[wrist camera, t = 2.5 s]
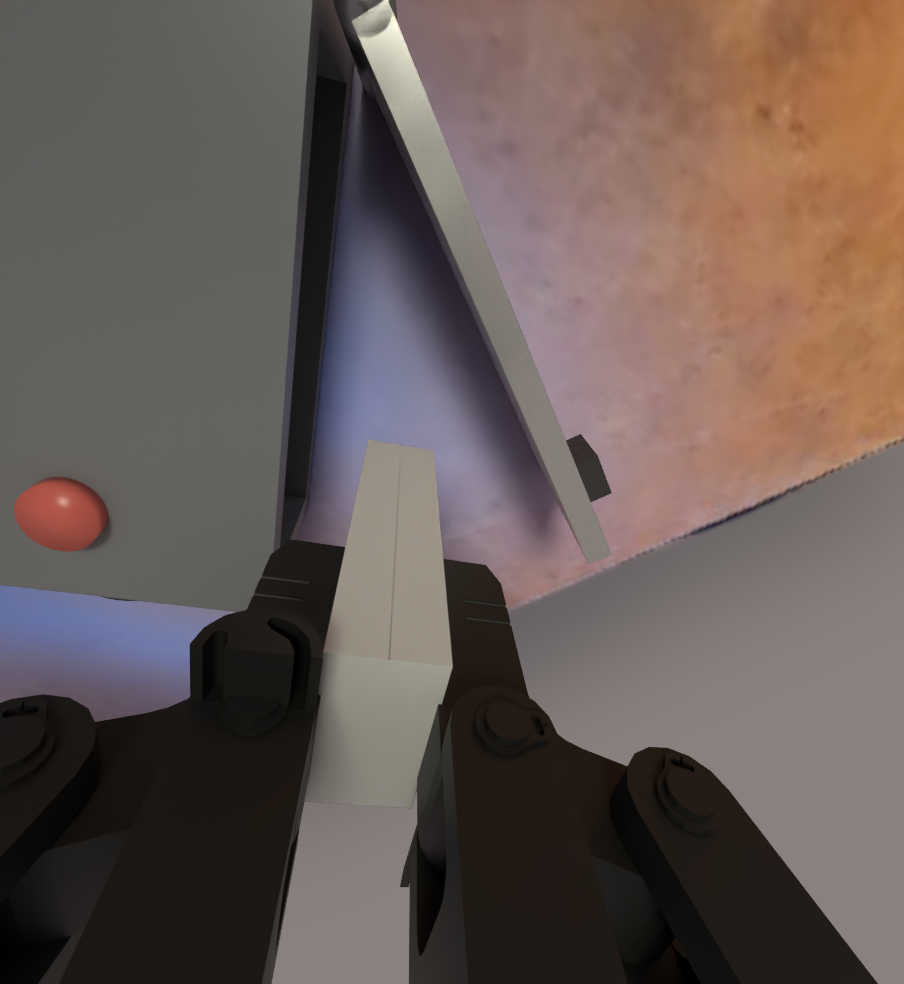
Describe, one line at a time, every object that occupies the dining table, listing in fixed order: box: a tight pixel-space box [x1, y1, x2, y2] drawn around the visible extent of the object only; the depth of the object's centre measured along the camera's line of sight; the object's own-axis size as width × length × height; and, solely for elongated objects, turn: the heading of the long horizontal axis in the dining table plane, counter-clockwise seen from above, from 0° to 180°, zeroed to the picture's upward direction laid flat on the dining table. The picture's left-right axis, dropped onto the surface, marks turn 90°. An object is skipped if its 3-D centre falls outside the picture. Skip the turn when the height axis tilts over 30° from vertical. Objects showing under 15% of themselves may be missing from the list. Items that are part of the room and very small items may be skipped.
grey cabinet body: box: [0, 0, 354, 612], centre depth 15 cm, size 17×9×8 cm, turn 168°
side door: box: [333, 0, 612, 564], centre depth 16 cm, size 16×2×6 cm, turn 26°
